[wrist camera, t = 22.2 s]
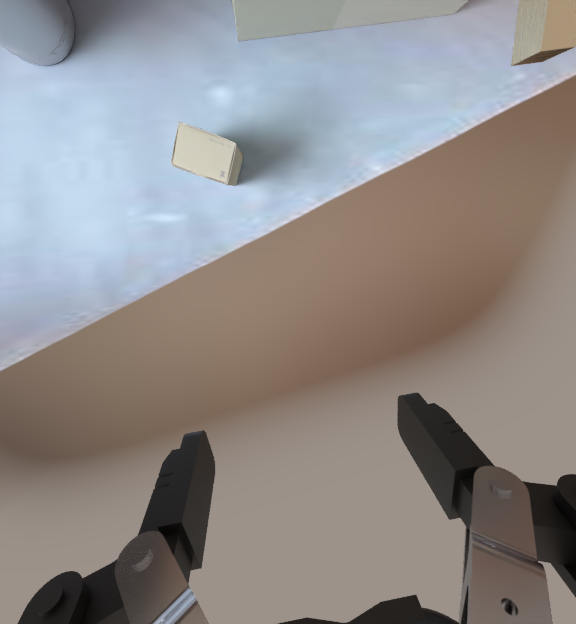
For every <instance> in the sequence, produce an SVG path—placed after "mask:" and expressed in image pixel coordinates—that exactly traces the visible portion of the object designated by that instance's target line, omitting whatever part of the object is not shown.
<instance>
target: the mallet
mask: <svg viewBox="0 0 576 624" xmlns="http://www.w3.org/2000/svg"><path fill="white" fill-rule="evenodd" d="M575 46H576V0H519V8H518V16H517V23H516V31H515V39H514V47H513V55H512V62H511V66H515V65H522V64H530V63H537V62H543V61H545V60H547V59H550V58H552V57H554V56H556V55H559V54H561V53H563V52H565V51H567V50H570V49H572V48H574V47H575Z"/></svg>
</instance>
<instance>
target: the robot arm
mask: <svg viewBox="0 0 576 624" xmlns="http://www.w3.org/2000/svg"><path fill="white" fill-rule="evenodd" d="M74 33H75V28H74V19H73V16H72V12H71V9H70V6H69V4H68V2H67V0H0V47H2V48H3V49H5V50H7V51H9V52H11V53H12V54H14V55H16V56H18V57H19V58H21V59H23V60H25V61H27V62H29V63H32V64H36V65H43V66H48V65H53V64H56V63H58V62H60V61H62V60H63V59H64V58H65V57H66V56H67V55H68V53H69V52H70V50H71V48H72V45H73V41H74ZM398 429H399V433H400V436H401V438H402V440H403V442H404V444H405V445H406V447H407V449H408V450H409V452H410V454H411V456H412V457H413V459H414V460H415V462H416V464H417V466H418V467H419V469H420V471H421V472H422V474H423V476H424V477H425V479H426V481H427V483H428V484H429V486H430V488H431V489H432V491H433V493H434V494H435V496H436V498H437V500H438V501H439V503H440V505H441V506H442V508H443V510H444V511H445V513H446V515H447V516H448V518H449V519H450V520H451V519H456V518H461V519H462V521H463V522H464V524H465V525H466V530H465V545H464V561H463V577H462V591H461V601H460V611H459V623H458V622H457V621H455V620H453V619H451V618H450V617H448V616H446V615H444V614H441V613H439V612H437V611H433V610H430V609H427V608H421V606H420V603H419V601H418V598H417V596H416V595H412V596H407V597H402V598H398V599H393V600H388V601H384V602H380V603H379V604H377V605H375V606H374V607H372V608H371V609H369V610H367V611H366V612H364V613H363V614H361V615H360V616H358V617H356V618H355V619H353V620H352V621H350V622H348V623H339V622H333V621H326V620H319V619H312V618H303V619H298V620H293V621H288V622H284V623H279V624H553V622H552V615H551V608H550V601H549V594H548V586H547V579H546V573H545V569H544V567H543V565H542V564H541V563H538V561H543V562H548V563H551V564H552V566H553V567H554V568H555V570H556V571H557V573H558V574H559V575H560V577H561V578H562V579H563V581H564V582H565V583H566V585H567V586H568V587H569V589H570V590H571V592H572V593H573V594H574V595H575V597H576V475H575V474H570V475H564V476H562V477H560V479H559V480H558V482H557V486H554V485H546V484H536V483H529V482H523V481H521V480H520V479H519V478H518V477H517V476H515V475H514V474H512V473H511V472H509V471H507V470H505V469H502V468H500V467H496V466H494V465H493V464H492V462H491V461H490V460H489V459H488V458H487V457H486V456H485V454H484V453H483V452H482V451H481V450H480V449H479V448H478V447H477V445H476V444H475V443H474V442H473V441H472V440H471V438H470V437H469V436H468V435H467V434H466V433H465V432H463V429H462V428H461V427H460V426H459V425H458V424H457V423H456V422H455V420H454V419H453V418H452V417H451V415H450V414H449V413H448V412H447V411H446V410H444V409H443V408H441V407H439V406H438V405H436V404H435V403H432V404H427V403H426V401H425V400H424V399H423V398H422V396H421V395H420V394H419V393H412V394H406V395H401V396H399V397H398ZM214 477H215V461H214V456H213V453H212V450H211V447H210V444H209V441H208V438H207V435H206V432H205V431H198V432H193V433H187V434H185V435H184V437H183V440H182V444H181V447H180V449H176V450H172V451H171V452H170V454H169V455H168V456H167V458H166V459H165V461H164V462H163V464H162V467H161V470H160V473H159V478H158V479H157V482H156V484H155V489H154V490H153V494H152V496H151V499H150V502H149V505H148V508H147V511H146V514H145V517H144V520H143V523H142V526H141V528H140V531H139V534H138V536H137V537H135V538H134V539H132V540H131V541H130V542H129V543H128V544H127V546H125V548H124V549H123V550H122V552H121V553H120V555H119V557H118V559H117V560H116V561H115V562H113V563H111V564H109V565H107V566H105V567H103V568H102V569H100V570H98V571H96V572H94V573H92V574H90V575H88V576H87V577H85V578H82V577H81V575H80V574H79V573H77V572H74V571H69V572H65V573H62V574H60V575H58V576H56V577H54V578H53V579H51V580H50V581H49V582H47V583H46V584H45V585H44V586H43V587H42V588H41V589H40V590H39V591H38V592H37V593H36V594H35V595H34V597H33V598H32V599H31V601H30V602H29V604H28V605H27V607H26V609H25V611H24V612H23V614H22V616H21V618H20V620H19V622H18V624H209V623H208V621H207V619H206V617H205V615H204V613H203V611H202V609H201V608H200V606H199V604H198V602H197V600H196V598H195V596H194V594H193V592H192V591H191V589H190V587H189V585H188V582H189V577H190V571H191V570H194V569H199V568H201V567H202V560H203V553H204V546H205V539H206V533H207V526H208V519H209V512H210V505H211V498H212V491H213V483H214Z"/></svg>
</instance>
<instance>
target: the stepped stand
mask: <svg viewBox="0 0 576 624" xmlns="http://www.w3.org/2000/svg"><path fill="white" fill-rule="evenodd" d="M468 1H469V0H232V5H233V11H234V17H235V24H236V30H237V36H238V41H246V40H254V39H262V38H270V37H277V36H285V35H293V34H301V33H309V32H317V31H325V30H333V29H341V28H349V27H357V26H365V25H373V24H381V23H389V22H396V21H404V20H412V19H420V18H428V17H436V16H444V15H452V14H454V13H455V12H457V11H458V10H459V9H460V8H461V7H462V6H463V5H464V4H465V3H467V2H468Z"/></svg>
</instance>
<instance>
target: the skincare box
mask: <svg viewBox="0 0 576 624" xmlns="http://www.w3.org/2000/svg"><path fill="white" fill-rule="evenodd" d="M242 161H243V154H242V153H241V151H240V149H239V148H238V146H237V144H236V143H234V142H232V141H230V140H228V139H225V138H223V137H220V136H218V135H215V134H213V133H210V132H207V131H205V130H202V129H199V128H196V127H194V126H191V125H188V124H185V123H182V122H179V123H178V128H177V132H176V138H175V143H174V148H173V154H172V160H171V165H172V166H174V167H176V168H179V169H182V170H184V171H187V172H190V173H192V174H195V175H198V176H201V177H204V178H207V179H210V180H213V181H216V182H219V183H223V184H226V185H232V186H236V185H237V181H238V178H239V174H240V170H241V166H242Z"/></svg>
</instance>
